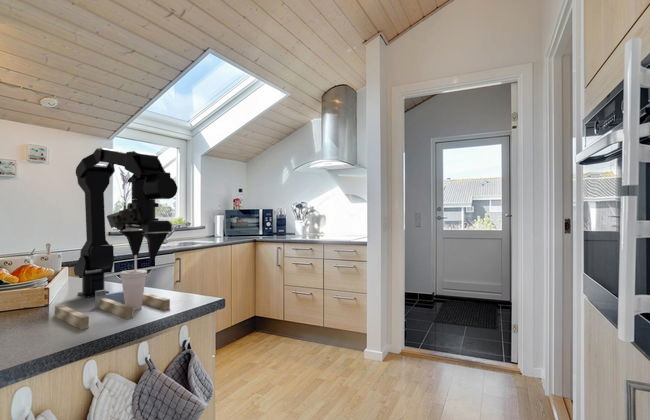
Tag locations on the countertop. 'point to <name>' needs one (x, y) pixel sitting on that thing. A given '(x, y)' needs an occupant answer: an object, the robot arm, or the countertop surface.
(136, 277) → the smoothie
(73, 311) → the divider rack
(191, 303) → the countertop surface
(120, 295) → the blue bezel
